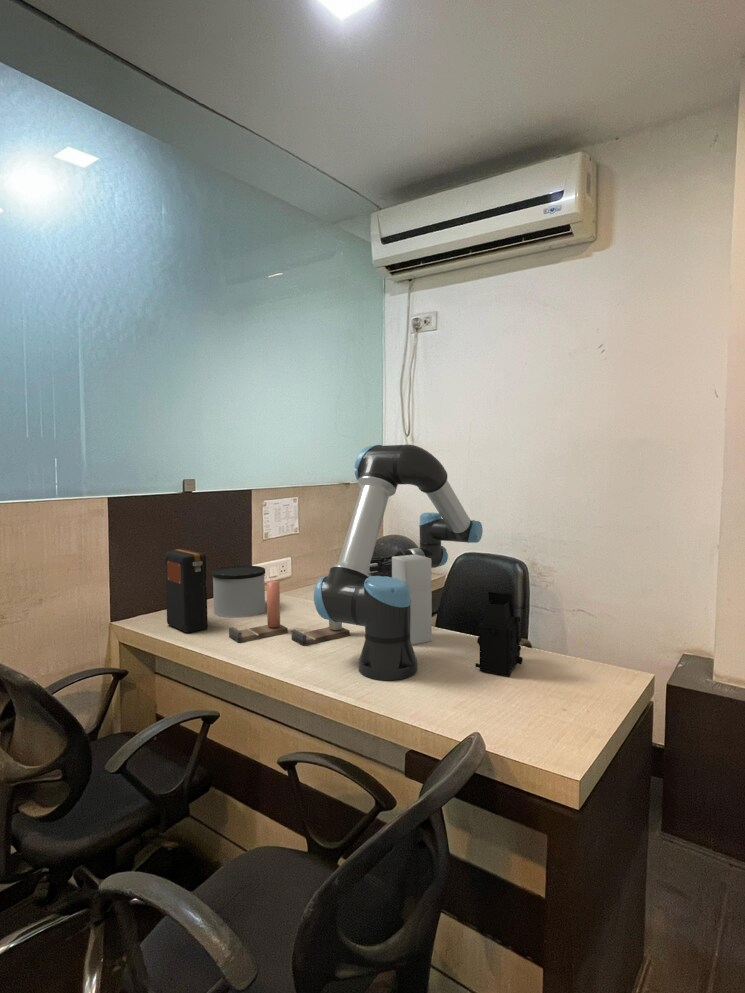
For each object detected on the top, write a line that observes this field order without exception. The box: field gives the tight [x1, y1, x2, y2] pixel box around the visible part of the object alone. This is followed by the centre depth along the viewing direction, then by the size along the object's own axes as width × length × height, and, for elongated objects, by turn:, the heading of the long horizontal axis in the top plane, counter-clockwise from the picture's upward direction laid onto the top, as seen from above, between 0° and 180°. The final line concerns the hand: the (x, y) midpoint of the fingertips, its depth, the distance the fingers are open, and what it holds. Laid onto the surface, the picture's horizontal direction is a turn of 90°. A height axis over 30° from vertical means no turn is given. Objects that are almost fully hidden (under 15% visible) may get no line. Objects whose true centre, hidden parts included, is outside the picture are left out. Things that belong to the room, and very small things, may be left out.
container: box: [211, 565, 266, 619], centre depth 201 cm, size 19×19×15 cm
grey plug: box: [328, 620, 343, 630], centre depth 171 cm, size 4×4×14 cm
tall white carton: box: [391, 554, 433, 646], centre depth 166 cm, size 9×9×25 cm
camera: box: [474, 589, 524, 677], centre depth 143 cm, size 10×14×20 cm
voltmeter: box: [164, 548, 209, 634], centre depth 180 cm, size 16×9×25 cm, turn 45°
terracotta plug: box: [266, 580, 281, 627], centre depth 175 cm, size 4×4×14 cm
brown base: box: [228, 623, 289, 644], centre depth 172 cm, size 16×9×3 cm, turn 126°
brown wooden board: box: [290, 626, 351, 647], centre depth 169 cm, size 16×9×3 cm, turn 126°
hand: (353, 568), depth 175 cm, fingers open, 7 cm apart
